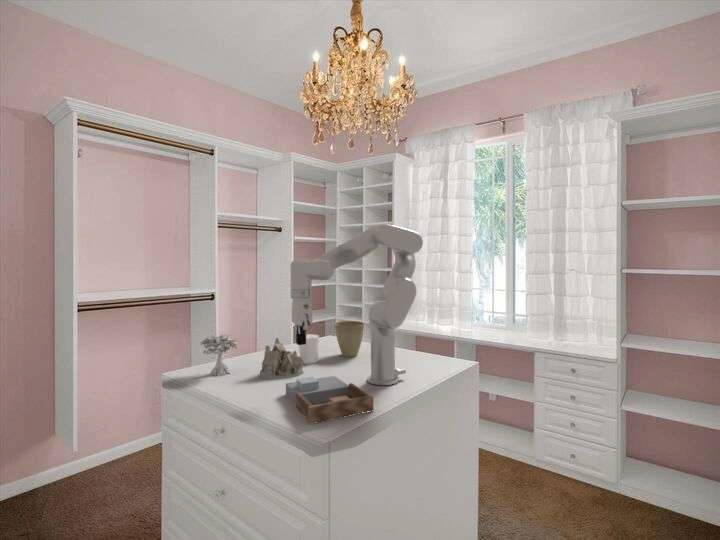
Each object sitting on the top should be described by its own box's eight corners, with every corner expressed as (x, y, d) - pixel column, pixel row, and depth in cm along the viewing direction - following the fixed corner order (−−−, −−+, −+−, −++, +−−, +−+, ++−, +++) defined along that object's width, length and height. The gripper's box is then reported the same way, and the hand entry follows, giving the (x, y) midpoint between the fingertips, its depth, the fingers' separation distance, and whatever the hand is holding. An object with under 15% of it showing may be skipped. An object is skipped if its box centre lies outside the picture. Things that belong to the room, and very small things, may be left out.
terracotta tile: (353, 401, 134) (353, 408, 134) (345, 395, 139) (345, 402, 139) (336, 404, 131) (336, 411, 131) (329, 398, 136) (329, 405, 136)
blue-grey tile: (312, 383, 146) (312, 376, 146) (318, 388, 141) (318, 381, 141) (296, 386, 144) (296, 379, 143) (302, 391, 138) (301, 383, 138)
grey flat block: (334, 386, 156) (334, 375, 155) (350, 397, 143) (350, 386, 143) (285, 394, 147) (285, 383, 147) (297, 407, 135) (297, 395, 134)
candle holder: (316, 364, 186) (316, 338, 186) (295, 364, 188) (295, 338, 187) (321, 359, 196) (321, 334, 196) (302, 358, 198) (301, 334, 197)
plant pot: (330, 353, 207) (330, 322, 207) (357, 350, 213) (356, 320, 213) (341, 360, 194) (341, 326, 193) (369, 356, 200) (369, 324, 199)
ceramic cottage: (253, 376, 169) (255, 340, 169) (281, 368, 183) (283, 335, 183) (281, 384, 161) (283, 347, 160) (308, 375, 175) (310, 341, 174)
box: (353, 397, 144) (353, 382, 143) (373, 411, 130) (373, 395, 130) (294, 407, 134) (294, 392, 134) (309, 424, 121) (309, 407, 120)
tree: (214, 381, 162) (213, 340, 162) (189, 375, 171) (188, 336, 170) (249, 370, 177) (248, 333, 177) (224, 365, 186) (224, 329, 185)
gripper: (318, 295, 144) (318, 347, 144) (303, 292, 157) (303, 339, 157) (298, 296, 140) (298, 349, 141) (284, 292, 153) (284, 341, 154)
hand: (301, 344), depth 149 cm, fingers closed
